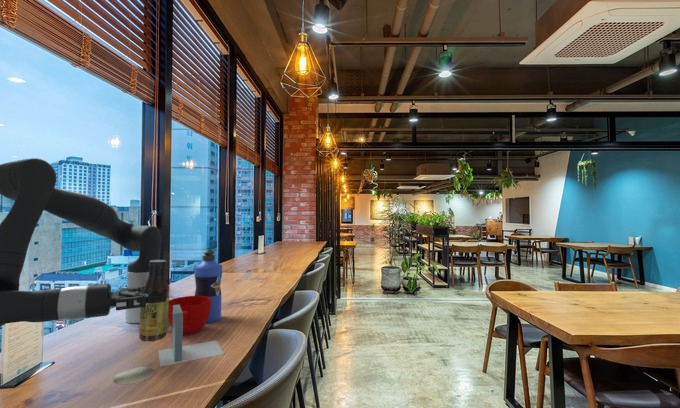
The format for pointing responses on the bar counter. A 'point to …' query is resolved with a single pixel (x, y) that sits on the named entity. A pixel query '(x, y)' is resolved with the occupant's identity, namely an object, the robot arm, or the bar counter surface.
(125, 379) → the coaster
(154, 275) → the sauce bottle
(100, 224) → the robot arm
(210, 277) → the water bottle
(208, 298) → the ceramic cup
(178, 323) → the tile
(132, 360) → the bar counter surface
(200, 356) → the mat
